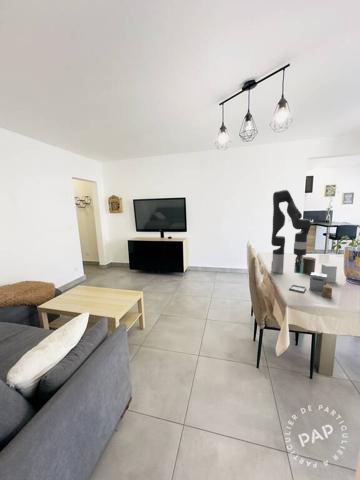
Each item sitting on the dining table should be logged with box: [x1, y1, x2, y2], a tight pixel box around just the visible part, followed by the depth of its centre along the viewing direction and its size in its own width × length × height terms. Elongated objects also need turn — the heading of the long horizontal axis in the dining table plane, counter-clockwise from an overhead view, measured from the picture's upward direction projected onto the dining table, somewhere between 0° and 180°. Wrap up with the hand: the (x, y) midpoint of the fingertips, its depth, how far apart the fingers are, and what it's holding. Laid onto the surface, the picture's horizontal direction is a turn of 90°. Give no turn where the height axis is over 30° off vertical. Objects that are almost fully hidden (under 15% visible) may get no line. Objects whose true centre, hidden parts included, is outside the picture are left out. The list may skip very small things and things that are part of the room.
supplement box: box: [320, 263, 338, 283], centre depth 152 cm, size 7×7×13 cm
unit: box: [309, 272, 328, 293], centre depth 136 cm, size 9×8×11 cm
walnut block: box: [322, 284, 334, 300], centre depth 125 cm, size 4×4×7 cm
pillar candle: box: [302, 256, 316, 275], centre depth 170 cm, size 10×10×15 cm
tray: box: [288, 284, 307, 294], centre depth 138 cm, size 9×9×1 cm
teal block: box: [293, 263, 304, 275], centre depth 136 cm, size 4×4×7 cm
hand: (298, 271), depth 136 cm, fingers closed on teal block, 4 cm apart
